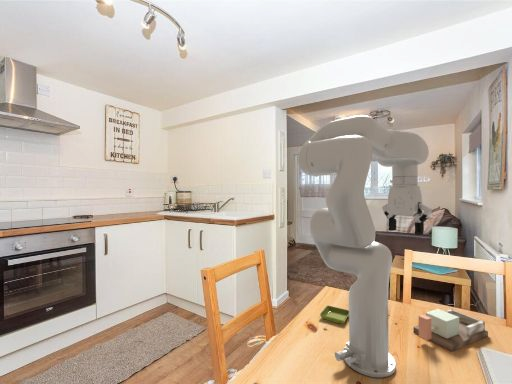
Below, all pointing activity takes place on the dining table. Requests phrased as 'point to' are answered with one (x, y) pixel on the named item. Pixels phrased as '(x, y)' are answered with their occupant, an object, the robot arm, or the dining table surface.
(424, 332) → the joined block piece
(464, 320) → the shelf
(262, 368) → the dining table surface
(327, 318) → the green tray
